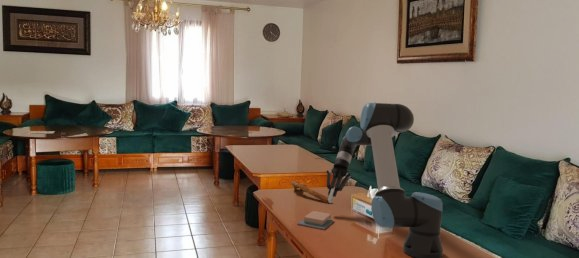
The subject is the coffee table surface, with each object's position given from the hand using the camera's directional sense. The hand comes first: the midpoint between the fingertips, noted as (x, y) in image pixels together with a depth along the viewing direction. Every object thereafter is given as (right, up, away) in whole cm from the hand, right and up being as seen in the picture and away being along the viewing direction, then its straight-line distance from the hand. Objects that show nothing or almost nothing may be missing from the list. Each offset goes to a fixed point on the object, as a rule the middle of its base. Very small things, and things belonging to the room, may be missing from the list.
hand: (329, 201), depth 229 cm
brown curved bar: (-9, -2, +32) cm, 33 cm away
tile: (-4, -5, -8) cm, 11 cm away
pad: (-8, -8, -15) cm, 18 cm away
